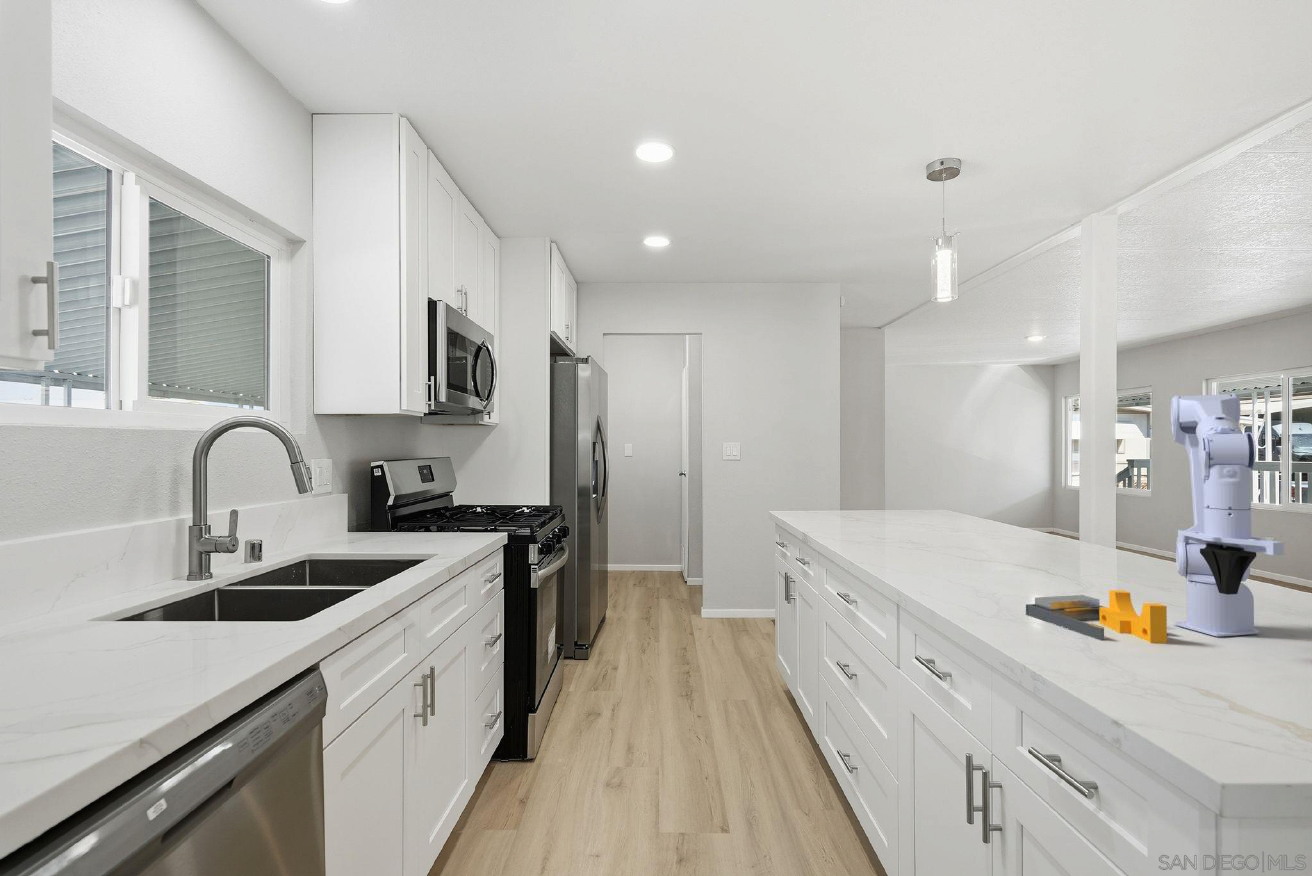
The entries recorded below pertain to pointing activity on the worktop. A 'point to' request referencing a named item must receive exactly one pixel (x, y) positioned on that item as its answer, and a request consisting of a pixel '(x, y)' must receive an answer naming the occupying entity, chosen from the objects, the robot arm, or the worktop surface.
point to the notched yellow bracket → (1135, 617)
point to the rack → (1069, 613)
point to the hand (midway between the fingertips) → (1228, 593)
